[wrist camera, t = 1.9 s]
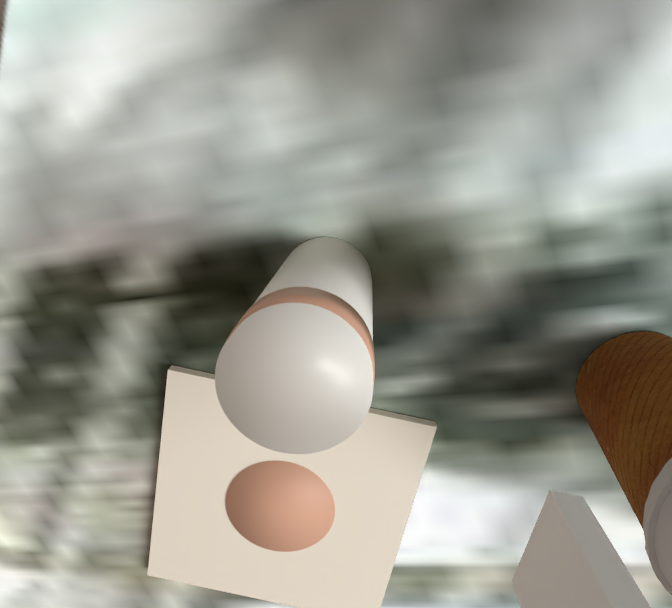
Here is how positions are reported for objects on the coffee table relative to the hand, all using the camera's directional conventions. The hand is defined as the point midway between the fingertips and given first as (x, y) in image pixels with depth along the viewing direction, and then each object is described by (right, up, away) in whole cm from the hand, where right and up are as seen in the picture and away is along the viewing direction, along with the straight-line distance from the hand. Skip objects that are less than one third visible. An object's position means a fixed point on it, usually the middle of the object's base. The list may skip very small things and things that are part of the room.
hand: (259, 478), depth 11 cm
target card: (-2, -9, +20) cm, 22 cm away
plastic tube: (+1, +5, +15) cm, 16 cm away
